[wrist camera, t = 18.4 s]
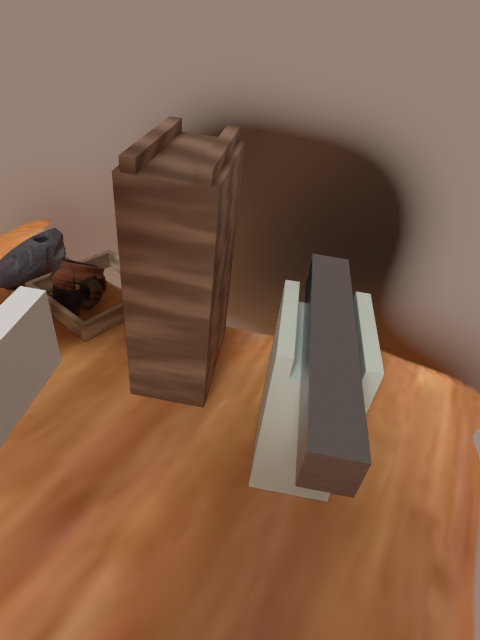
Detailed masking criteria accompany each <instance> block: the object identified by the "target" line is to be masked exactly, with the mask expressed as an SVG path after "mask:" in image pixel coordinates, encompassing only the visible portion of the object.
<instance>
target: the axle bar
mask: <svg viewBox="0 0 480 640" xmlns="http://www.w3.org/2000/svg"><path fill="white" fill-rule="evenodd" d="M370 465H371V458H370V449H369V440H368V431H367V422H366V413H365V404H364V395H363V386H362V377H361V368H360V359H359V350H358V341H357V332H356V323H355V314H354V305H353V296H352V287H351V279H350V269H349V260H348V259H341V258H335V257H329V256H323V255H317V254H312V258H311V262H310V267H309V271H308V275H307V279H306V284H305V302H304V321H303V341H302V361H301V380H300V400H299V420H298V439H297V459H296V479H295V486H296V487H302V488H307V489H312V490H317V491H322V492H327V493H332V494H337V495H342V496H347V497H352V498H354V496H355V494H356V492H357V491H358V489H359V487H360V485H361V483H362V481H363V479H364V477H365V475H366V473H367V471H368V469H369V467H370Z"/></svg>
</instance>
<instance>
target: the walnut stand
mask: <svg viewBox="0 0 480 640" xmlns="http://www.w3.org/2000/svg"><path fill="white" fill-rule="evenodd" d="M239 132H240V127H236V126H229V125H227V126H226V128H225V129H224V130H223V132H222V133H221V134H220V136H219V137H213V136H207V135H200V134H193V133H187V132H182V118H176V117H168V118H167V119H166V120H164V121H163V122H162V123H160V124H159V125H158V126H157V127H155V128H154V129H152V130H151V131H150V132H149V133H147V134H146V135H145V136H143V137H142V138H141V139H139V140H138V141H137V142H136V143H134V144H133V145H132V146H130V147H129V148H128V149H126V150H125V151H124V152H122V153H121V154H120V155H119V166H118V167H116V168H115V169H114V170H113V171H112V179H113V191H114V203H115V215H116V226H117V238H118V249H119V262H120V273H121V283H122V284H121V285H122V297H123V309H124V320H125V332H126V344H127V355H128V367H129V379H130V391H131V394H135V395H141V396H146V397H151V398H157V399H162V400H167V401H172V402H178V403H183V404H188V405H194V406H199V407H204V403H205V400H206V396H207V393H208V389H209V386H210V382H211V379H212V375H213V372H214V368H215V365H216V361H217V358H218V354H219V351H220V347H221V344H222V340H223V337H224V333H225V325H226V315H227V306H228V296H229V286H230V277H231V268H232V258H233V249H234V238H235V230H236V220H237V210H238V201H239V192H240V182H241V172H242V163H243V153H244V144H245V141H239Z"/></svg>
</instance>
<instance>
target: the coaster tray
mask: <svg viewBox="0 0 480 640" xmlns="http://www.w3.org/2000/svg"><path fill="white" fill-rule="evenodd" d="M79 262H82V263H88V264H93V265H96V266H99V267H102V268H104V269H105V268H107V267H112V268H113V269H115V270H116V271H118V272H120V262H119V255H117V254H115V253H114V252H112V251H110V250H107V251H105V252H102V253H100V254H97V255H95V256H92V257H90V258H87V259H84V260H82V261H79ZM51 273H52V272H51ZM51 273H49V274H46V275H43V276H41V277H38V278H36V279H33V280H31V281H28V282H26V283H25V287H29V288H35V289H40V290H46V292H47V293H48V292H51V291H53V290H52V285H53V283H52V281H51V280H52V277H50V274H51ZM47 297H48V301H49V306H50V310H51V315H52V316H53V317H54V318H55V319H56V320H58V321H59V322H60V323H62V324H63V325H64V326H66V327H67V328H68V329H69V330H71V331H72V332H73V333H75V334H76V335H77V336H79V337H80V338H81V339H82V340H84V341H87V340H89V339H91V338H93V337H95V336H97V335H98V334H100V333H102V332H104V331H106V330H108V329H110V328H111V327H113V326H115V325H117V324H119V323H121V322H123V321H124V309H123V302H122V303H120V304H118V305H116V306H114V307H112V308H110V309H108V310H106V311H104V312H102V313H100V314H98V315H96V316H94V317H92V318H90V319H88V320H86V321H83V320H81V319H80V318H79V317H77V316H76V315H75V314H73V313H72V312H70V311H69V310H68V309H66V308H65V307H64V306H62V305H61V304H60V303H58V302H57V301H55V300H54V299H53V298H51V297H50V296H49V295H47Z"/></svg>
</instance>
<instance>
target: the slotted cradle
mask: <svg viewBox="0 0 480 640" xmlns="http://www.w3.org/2000/svg"><path fill="white" fill-rule="evenodd" d="M299 284H300V282H296V281H290V280H286V281H285V286H284V290H283V296H282V300H281V306H280V310H279V315H278V320H277V325H276V330H275V335H274V340H273V345H272V350H271V355H270V360H269V365H268V370H267V375H266V380H265V385H264V390H263V395H262V400H261V404H260V411H259V417H258V424H257V431H256V438H255V445H254V451H253V458H252V465H251V472H250V479H249V485H248V486H249V487H254V488H259V489H264V490H269V491H274V492H279V493H284V494H289V495H294V496H299V497H304V498H309V499H314V500H319V501H324V502H327V501H328V499H329V496H330V494H331V493H327V492H322V491H317V490H312V489H307V488H302V487H296V486H295V479H296V459H297V439H298V420H299V400H300V380H301V361H302V341H303V321H304V303H303V302H298V297H299ZM353 305H354V314H355V323H356V332H357V341H358V350H359V359H360V368H361V377H362V386H363V395H364V404H365V413H366V414H367V411H368V409H369V407H370V405H371V403H372V400H373V398H374V396H375V394H376V391H377V389H378V387H379V385H380V382H381V380H382V378H383V376H384V370H383V364H382V358H381V352H380V347H379V341H378V335H377V329H376V324H375V319H374V312H373V306H372V300H371V295H370V294H367V293H360V292H356V294H355V297H354V300H353Z"/></svg>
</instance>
